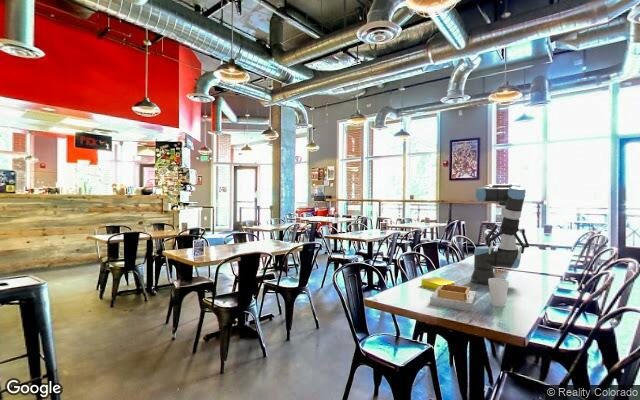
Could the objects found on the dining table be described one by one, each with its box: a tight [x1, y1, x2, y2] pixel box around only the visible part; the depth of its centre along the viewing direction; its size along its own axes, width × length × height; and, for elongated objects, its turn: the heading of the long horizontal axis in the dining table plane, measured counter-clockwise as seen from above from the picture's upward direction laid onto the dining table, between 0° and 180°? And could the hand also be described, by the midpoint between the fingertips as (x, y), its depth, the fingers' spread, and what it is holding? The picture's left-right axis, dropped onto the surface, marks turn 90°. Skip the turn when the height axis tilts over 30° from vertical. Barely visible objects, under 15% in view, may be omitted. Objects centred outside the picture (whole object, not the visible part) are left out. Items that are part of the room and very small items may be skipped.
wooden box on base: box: [429, 284, 477, 312], centre depth 185 cm, size 24×20×7 cm
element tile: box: [421, 276, 455, 291], centre depth 214 cm, size 15×15×5 cm
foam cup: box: [487, 277, 510, 308], centre depth 180 cm, size 10×9×13 cm
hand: (503, 255), depth 180 cm, fingers open, 13 cm apart
